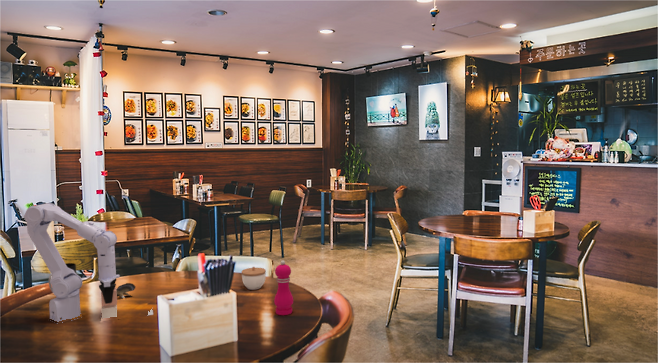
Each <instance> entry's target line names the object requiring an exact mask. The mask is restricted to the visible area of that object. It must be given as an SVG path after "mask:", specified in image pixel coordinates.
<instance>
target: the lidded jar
mask: <svg viewBox="0 0 658 363" xmlns="http://www.w3.org/2000/svg"><path fill="white" fill-rule="evenodd" d="M266 271H267V270H266V268H263V267H255V266H252V267H250V268H249V267H248V268H244V269H243V270H241V278H242V282H243V285H244V286H245V287H246V289H247V290H250V291H251V290H259V289H261V288H262V286H263V285H264V284H265V281H266V273H267V272H266Z"/></svg>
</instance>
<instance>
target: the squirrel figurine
mask: <svg viewBox="0 0 658 363" xmlns="http://www.w3.org/2000/svg"><path fill="white" fill-rule="evenodd" d="M116 289H117V298H122V299H123V298H125V299H126V297H125V296H128V297H131V296H130V295H131V294H129V292H133V291H135V290H136V284H134V283H130V282H125V283H124V284H121V285H118V287H116Z"/></svg>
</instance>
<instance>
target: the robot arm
mask: <svg viewBox="0 0 658 363" xmlns="http://www.w3.org/2000/svg"><path fill="white" fill-rule="evenodd" d="M23 219H24V220H25V221H26V229H27V234H28V237H29V238H30V240H31V241H32V243H33V244H34V247H35V248H36V251H37V252H38V253H39V255H40V257H41V258H42V260H43V262H44V264H45V265H46V267H47V269H48V271H49V272H50V275H51V274H52V276H51V280H50V283H51V286H52V291H53V292H52V291H51V292H52V293H53V295H54V296H55V298H51V299H50V300H49V304H48V305H49V306H48V308H49V319H52V320H54V321H57V322H59V321H62V320H66V319H72V318H75V317H78V316H80V314H81V300H80V298H81V297H80V289H81V288H82V286H83V280H82V277H81V276H80V275H78V273H77V272H76V273H77V274H76V273H75V272H74V270H72V269H70V268H68V267H67V266H66V264H65V263H66V262H65V261H64V259H63V257H62V255H61V254H60V252H59V250H58V249H57V247H56V245H55V243H54V241H53V240H52V237H51V236H50V235H49V233H48V231H47V230H48V228H49V226H50V224H51V223H52V222H58V223H60V224H63V225H64V226H66V227H68V228H71V229H73V230H75V231H76V233H77V235H78V236H79V237H81V238H83V239H84V240H87V241H88V242H90V243H92V244H93V245H94V247H95V248H96V251H97V262H98V263H97V266H98V267H97V268H98V281H99V283H100V284H98V287H99V290H100V291H101V292H102V294H103V297H104V301H105V303H106V304H107V303H112V299H113V292H114V289H115V287H116V286H117V283H116V282H117V279H118V278H120V276H121V275H120V274H117V269H116V265H117V264H116V251H115V250H116V249H115V248H116V247H115V244H117V241H118V237H117V235H116V234H115V233H114V232H113V231H111V230H106V229H105V228H100V227H98V226H97V225H94V224H95V223H94V222H93V221H84V222H83V221H81V220H79V219H78V218H76V217H74V216H73V215H71V214H69V212H66V211H65V210H63V209H62V208H61V207H60V206H59V205H55V204H54V203H52V202H46V203H42V204H37V205H30V206H28V208H27V209H26V210H25V213H24V215H23ZM101 292H100V293H101ZM60 318H61V319H60Z"/></svg>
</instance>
